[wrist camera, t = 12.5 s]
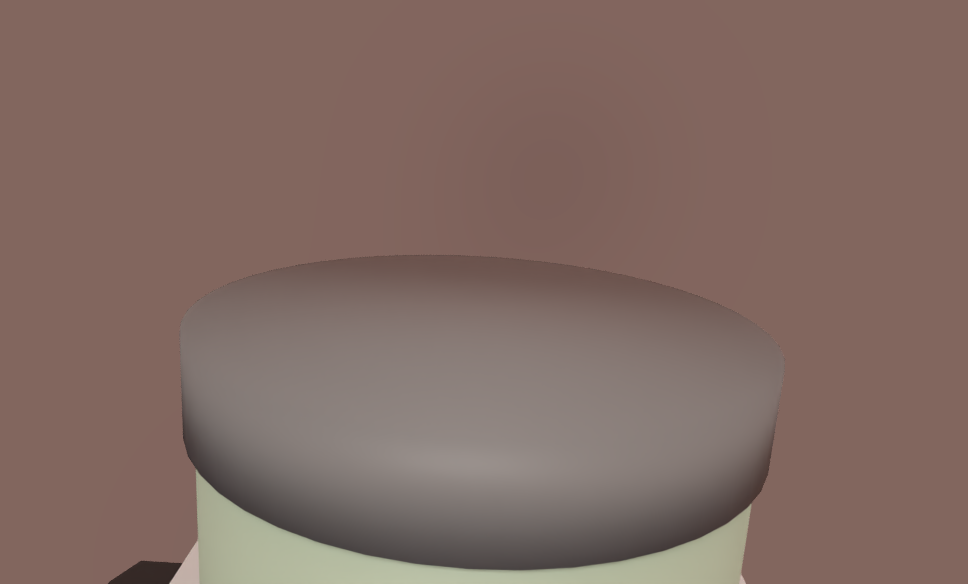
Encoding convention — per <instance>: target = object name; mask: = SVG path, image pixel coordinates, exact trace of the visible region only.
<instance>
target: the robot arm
mask: <svg viewBox="0 0 968 584" xmlns="http://www.w3.org/2000/svg"><path fill="white" fill-rule="evenodd" d="M108 584H200V583H199V552H198V540H197V542H196V544H195V545H194V547H193V548H192V550H191V551H190V553H189V554H188V556H187V557H186V559H185V561H184V562H183V563H168V562H150V561H140V562H139V563H137V564H136V565H134V566H133V567H131V568H130V569H128V570H127V571H125V572H124V573H122V574H121V575H119V576H117V577H116V578H114V579H113V580H111V581H110V582H109V583H108ZM739 584H746V583H745V581H744V579H743V577H742V575H740V582H739Z"/></svg>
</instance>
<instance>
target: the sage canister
mask: <svg viewBox="0 0 968 584" xmlns="http://www.w3.org/2000/svg"><path fill="white" fill-rule="evenodd" d="M180 362H181V388H182V417H183V439H184V443H185V447H186V450H187V454H188V457H189V458H190V460H191V462H192V463H193V465H194V466H195V468H196V490H197V517H198V518H197V519H198V552H199V583H200V584H739V582H740V575H741V569H742V562H743V556H744V549H745V542H746V536H747V530H748V523H749V517H750V511H751V504H752V501H753V500H754V499H755V498H756V497H757V495H758V494H759V493H760V492H761V490H762V488H763V485H764V483H765V480H766V478H767V475H768V471H769V464H770V458H771V452H772V446H773V440H774V433H775V427H776V420H777V415H778V408H779V402H780V396H781V389H782V383H783V377H784V367H785V364H784V363H785V358H784V356H783V354H782V351H781V349H780V347H779V345H778V344H777V343H776V342H775V341H774V339H773V338H772V337H771V336H770V335H769V334H768V333H767V332H766V331H764V330H763V329H762V328H760V327H759V326H758V325H757V324H755V323H754V322H752V321H750V320H749V319H747V318H745V317H744V316H742V315H740V314H739V313H737V312H735V311H733V310H731V309H728V308H726V307H724V306H722V305H720V304H718V303H715V302H713V301H710V300H707V299H705V298H703V297H700V296H698V295H694V294H692V293H688V292H685V291H682V290H679V289H676V288H673V287H670V286H666V285H662V284H659V283H655V282H652V281H648V280H643V279H638V278H635V277H630V276H626V275H622V274H616V273H612V272H606V271H601V270H595V269H590V268H584V267H577V266H571V265H564V264H556V263H548V262H541V261H531V260H521V259H509V258H497V257H481V256H461V255H399V256H398V255H396V256H374V257H362V258H361V257H360V258H348V259H338V260H329V261H321V262H314V263H308V264H301V265H296V266H291V267H286V268H281V269H276V270H271V271H268V272H264V273H260V274H256V275H252V276H249V277H246V278H243V279H240V280H237V281H235V282H232V283H229V284H227V285H225V286H223V287H220V288H218V289H216V290H214V291H212V292H210V293H209V294H207V295H206V296H204V297H202V298H201V299H199V300H198V301H197V302H196V303H195V304H194V305H193V306H191V307H190V308H189V309H188V310H187V312H186V313H185V315H184V317H183V319H182V321H181V324H180Z"/></svg>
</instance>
